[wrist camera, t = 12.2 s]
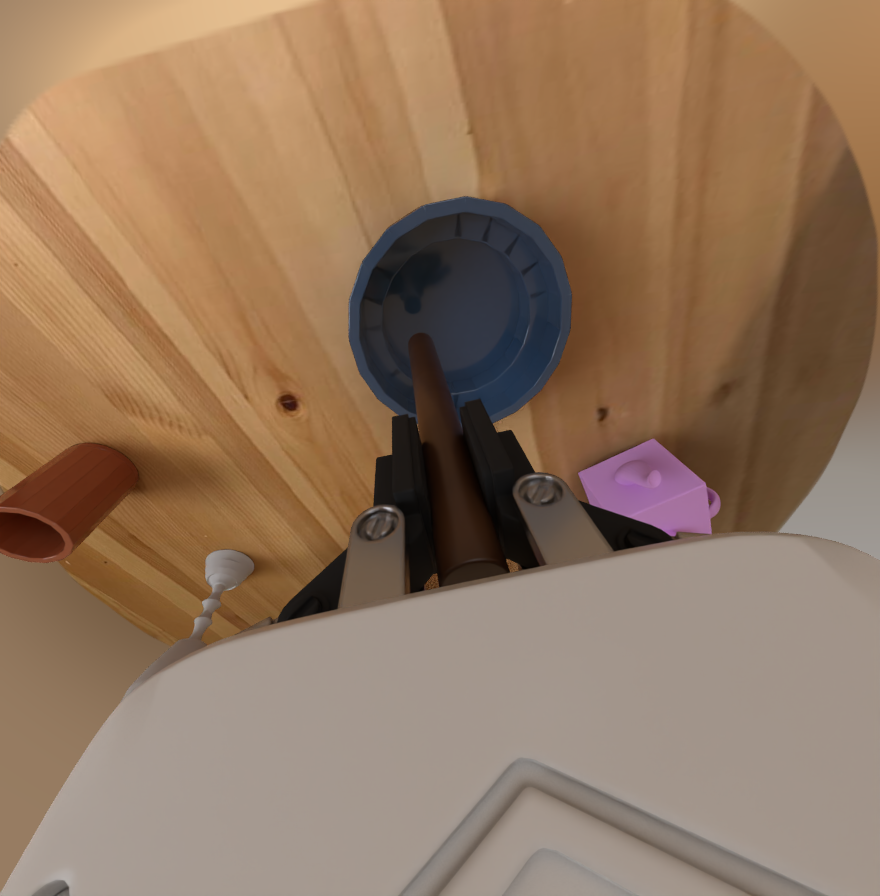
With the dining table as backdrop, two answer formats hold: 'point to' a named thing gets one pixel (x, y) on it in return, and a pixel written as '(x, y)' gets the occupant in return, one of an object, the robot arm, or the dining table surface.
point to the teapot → (652, 490)
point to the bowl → (462, 305)
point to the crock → (63, 502)
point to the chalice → (221, 575)
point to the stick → (451, 478)
